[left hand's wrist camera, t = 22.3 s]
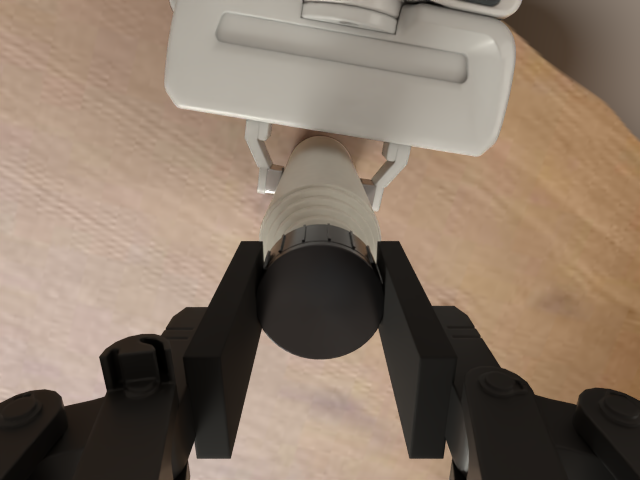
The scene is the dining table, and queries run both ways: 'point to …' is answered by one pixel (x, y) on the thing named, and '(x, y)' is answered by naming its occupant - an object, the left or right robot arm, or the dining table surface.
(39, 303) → the dining table surface
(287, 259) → the cap
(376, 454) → the dining table surface
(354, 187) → the bottle
